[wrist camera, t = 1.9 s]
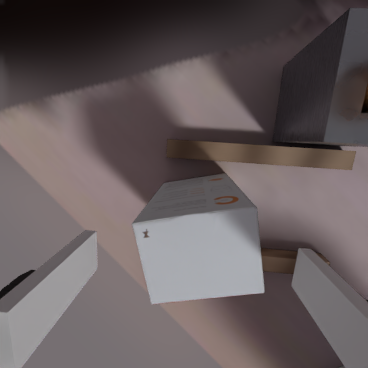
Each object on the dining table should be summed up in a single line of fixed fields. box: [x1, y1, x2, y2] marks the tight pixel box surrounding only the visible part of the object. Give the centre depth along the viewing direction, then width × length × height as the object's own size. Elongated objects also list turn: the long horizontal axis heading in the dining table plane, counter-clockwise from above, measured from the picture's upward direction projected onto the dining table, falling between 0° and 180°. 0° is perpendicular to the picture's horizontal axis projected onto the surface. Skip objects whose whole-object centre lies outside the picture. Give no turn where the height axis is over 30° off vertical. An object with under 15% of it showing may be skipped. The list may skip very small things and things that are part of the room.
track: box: [167, 139, 356, 274], centre depth 25 cm, size 20×15×2 cm
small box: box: [132, 173, 264, 304], centre depth 20 cm, size 8×6×13 cm
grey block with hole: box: [273, 8, 368, 147], centre depth 18 cm, size 8×8×10 cm
